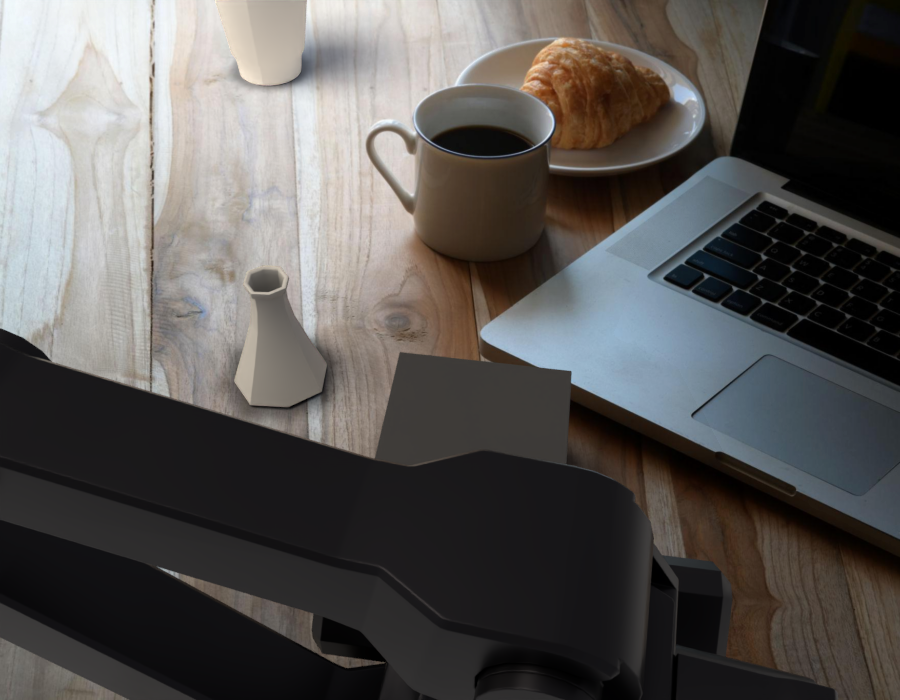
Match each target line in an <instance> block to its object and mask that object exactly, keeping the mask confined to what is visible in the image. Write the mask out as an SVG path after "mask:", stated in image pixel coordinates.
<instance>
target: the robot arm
mask: <svg viewBox="0 0 900 700" xmlns="http://www.w3.org/2000/svg"><path fill="white" fill-rule="evenodd" d="M166 570H167V571H170V572H173V573H177V574H180V575H184V576H186V577H190V578H194V579H197V580H200V581H203V582H207V583H211V584H214V585H217V586H220V587H223V588H226V589H230V590H233V591H237V592H240V593H243V594H247V595H250V596H253V597H256V598H260V599H263V600H266V601H270V602H274V603H276V604H280V605H283V606H287V607H290V608H293V609H296V610H300V611H303V612H307V613H309V614H313V615H312V623H311V635H312V640H313V641H314V643H315V645H316V646H317V648H318V649H319V651H320V653H321V654H318V653H317V652H315V651H313V650H311V649H310V648H307V647H306V646H304V645H302V644H300V643H299V642H297V641H295V640H293V639H291V638H289V637H287V636H286V635H284V634H282V633H280V632H278V631H276V630H275V629H273V628H271V627H269V626H267V625H266V624H264V623H262V622H260V621H258V620H256V619H255V618H252V617H250V616H249V615H247V614H245V613H244V612H241V611H240V610H238V609H235V608H233V607H232V606H230V605H229V604H227V603H225V602H223V601H221V600H219V599H217V598H215V597H214V596H212V595H210V594H208V593H206V592H204V591H202V590H201V589H198V588H197V587H195V586H193V585H191V584H189V583H187V582H186V581H183V580H182V579H180V578H178V577H177V576H174V575H173V574H171V573H169V572H167V571H166ZM732 606H733V590H732V582H730V581H729V579H728V578H727V577H726V575H725V574H724V573H723V572H722V570H721V569H720V567H718V566H717V565H716V563H715V562H714V561H713V560H704V559H695V558H688V557H682V556H681V557H679V556H673V555H665V554H662V553H661V551H660V550H659V549H658V547H657V545H656V544H655V537H654V531H653V526H652V522H651V520H650V519H649V517H648V516H647V515H646V514H645V512H644V511H643V509H642V507H640V505H639V504H638V503H637V502H636V494H635V492H634V491H633V490H631V489H630V488H628V487H626V486H625V485H623V484H622V483H621V482H618V481H617V480H616V479H615V478H612V477H611V476H607V475H605V474H603V473H600V472H598V471H597V470H592V469H588V468H584V467H581V466H578V465H577V466H576V465H573V464H572V465H571V464H568V463H567V464H561V463H556V462H551V461H545V460H540V459H535V458H529V457H524V456H519V455H514V454H508V453H503V452H498V451H492V450H485V449H481V450H474V451H470V452H466V453H461V454H457V455H453V456H448V457H444V458H440V459H436V460H431V461H427V462H423V463H419V464H414V465H405V464H400V463H395V462H390V461H384V460H379V459H375V457H370V456H366V455H363V454H361V453H356V452H353V451H349V450H347V449H343V448H340V447H337V446H333V445H331V444H326V443H323V442H321V441H316V440H313V439H311V438H307V437H303V436H300V435H297V434H293V433H290V432H287V431H284V430H280V429H277V428H274V427H270V426H267V425H264V424H261V423H257V422H254V421H251V420H247V419H244V418H241V417H237V416H234V415H230V414H227V413H224V412H220V411H217V410H213V409H210V408H207V407H204V406H200V405H197V404H194V403H190V402H187V401H184V400H181V399H176V398H174V397H171V396H167V395H163V394H161V393H158V392H154V391H151V390H147V389H144V388H140V387H138V386H134V385H131V384H128V383H124V382H121V381H118V380H114V379H111V378H108V377H104V376H101V375H99V374H98V375H97V374H94V373H91V372H87V371H84V370H81V369H77V368H74V367H71V366H68V365H64V364H61V363H58V362H54V361H52V360H51V359H50V357H49V356H48V355H47V354H46V353H45V352H44V351H43V350H42V349H40V348H39V347H37V346H36V345H35V344H33V343H32V342H30V341H29V340H27V339H26V338H24V336H23V337H22V336H20V335H18V334H16V333H13V332H11V331H9V330H6V329H4V328H1V327H0V639H2V640H3V641H6V642H8V643H10V644H13V645H15V646H17V647H18V648H21V649H22V650H25V651H27V652H29V653H31V654H32V655H36V656H37V657H39V658H41V659H44V660H46V661H48V662H50V663H52V664H54V665H56V666H58V667H60V668H62V669H64V670H67V671H68V672H70V673H73V674H75V675H77V676H79V677H81V678H82V679H85V680H87V681H89V682H91V683H94V684H96V685H98V686H100V687H101V688H104V689H105V690H108V691H109V692H112V693H113V694H117V695H119V696H121V697H123V698H124V699H126V700H839V693H838V691H837V690H836V689H835V688H834V687H829V686H826V685H822V684H818V683H817V682H816V681H815V679H813V678H810V677H808V676H805V675H802V674H798V673H792V672H789V671H785V670H781V669H777V668H773V667H769V666H765V665H761V664H757V663H753V662H748V661H746V660H745V661H744V660H741V659H736V658H733V657H729V656H727V649H728V640H729V632H730V624H731V616H732V609H733V608H732ZM322 654H323V655H328V656H329V655H330V656H335V657H342V658H343V657H344V658H352V659H357V660H358V659H359V660H365V661H373V662H379V663H376V664H369V665H361V666H360V665H359V666H353V667H346V666H345V667H344V666H342V665H341V664H338V663H335V662H334V661H332V660H330V659H328V658H326V657H324V656H322Z"/></svg>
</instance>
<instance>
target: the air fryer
mask: <svg viewBox="0 0 900 700" xmlns="http://www.w3.org/2000/svg"><path fill="white" fill-rule="evenodd" d="M571 390H572V370H566V369H557V368H548V367H539V366H530V365H521V364H513V363H512V364H511V363H503V362H494V361H485V360H477V359H476V360H475V359H468V358H457V357H449V356H440V355H431V354H422V353H413V352H404V351H399V353H398V357H397V362H396V366H395V370H394V375H393V379H392V383H391V387H390V392H389V396H388V400H387V404H386V407H385V408H386V409H385V413H384V417H383V421H382V426H381V429H380V434H379V438H378V443H377V447H376V451H375V456H374V459H379V460H384V461H390V462H395V463H400V464H405V465H414V464H419V463H423V462H427V461H431V460H436V459H440V458H444V457H448V456H453V455H457V454H461V453H466V452H470V451H474V450H481V449H485V450H492V451H498V452H503V453H508V454H514V455H519V456H524V457H529V458H535V459H540V460H545V461H551V462H556V463H561V464H567V465H568V447H569V446H568V444H569V427H570V426H569V425H570V407H571V406H570V405H571V394H572V393H571Z"/></svg>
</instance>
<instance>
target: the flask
mask: <svg viewBox="0 0 900 700" xmlns="http://www.w3.org/2000/svg"><path fill="white" fill-rule="evenodd" d="M289 281H290V276H289V274H288V273H287V272H286V271H285V270H284V269H283V267H282V266H281V265H265V264H263V265H260V266H258V267H254V268H252V269H249V270H247V271H246V273H245V276H244V280H243V283H242V286H243V288H244V290H245V291H246V292H247V294H248V295H249V301H250V312H249V313H250V314H249V324H248V329H247V333H246V335H245V341H244V344H243V348H242V351H241V355H240V358H239V362H238V366H237V369H236V372H235V376H234V380H233V381H234V383H235V385H236V387H237V388H238V389H239V391H240V393H241V394H242V395H243V396H244V398H245V399H246V401H247V403H248V404H249V406H259V407H278V408H280V407H281V408H290V407H292V406H293V405H296V404H298V403H301V402H302V401H305V400H306V399H307V400H308V399H309V398H311V397H313V396H316V395H317V394H320V393H322V392H323V387H324V382H325V377H326V372H327V367H328V364H327V362H326V360H325V358H324V357H323V356H322V354H321V353H320V351H319V350H318V348H317V347H316V346H315V344H314V343H313V342H312V340H311V338H310V337H309V335H308V334H307V332H306V331H305V328H303V326H302V324H301V323H300V321H299V319H298V318H297V317H296V314H295V312H294V309H293V307H292V304H291V302H290V300H289V297H288V291H287V290H288V286H289Z"/></svg>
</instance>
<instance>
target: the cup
mask: <svg viewBox="0 0 900 700" xmlns="http://www.w3.org/2000/svg"><path fill="white" fill-rule="evenodd" d="M214 2H215V6H216V9H217V12H218V15H219V18H220V21H221V26H222V29H223V32H224V35H225V38H226V41H227V44H228V47H229V50H230V53H231V54H230V55H231V56H232V57H233V58H234V59H235V60H236V64H237V67H238V71H239V75H240V77H241V78H242V79H243V80H244V81H246V82H247V83H249V84H252V85H257V86H267V87H268V86H271V87H272V86H278V85H282V84H286V83H289V82H291V81H294V79H295V80H296V79H297V78H298V77H299V75H300V74H301V72H302V59H303V58H302V57H303V52H304V51H305V47H306V28H307V11H308V10H307V9H308V8H307V7H308V0H214Z"/></svg>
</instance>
